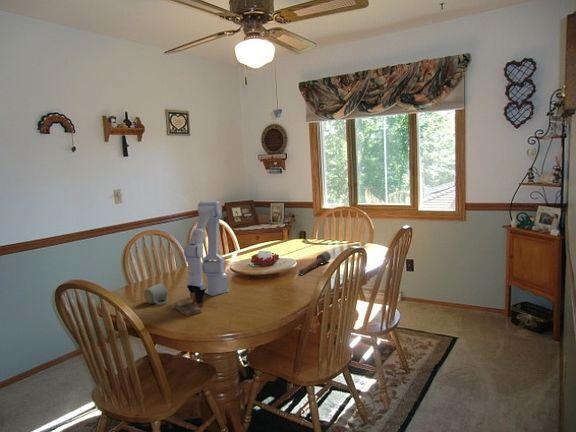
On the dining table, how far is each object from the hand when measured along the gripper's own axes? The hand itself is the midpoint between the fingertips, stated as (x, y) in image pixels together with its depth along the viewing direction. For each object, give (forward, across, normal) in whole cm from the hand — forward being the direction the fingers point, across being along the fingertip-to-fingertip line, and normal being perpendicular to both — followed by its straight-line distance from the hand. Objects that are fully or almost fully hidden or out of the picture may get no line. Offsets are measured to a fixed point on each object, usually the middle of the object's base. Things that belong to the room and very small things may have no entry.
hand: (197, 301), depth 190 cm
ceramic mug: (+2, -18, -11) cm, 21 cm away
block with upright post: (+2, 0, -3) cm, 4 cm away
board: (+2, +1, -6) cm, 6 cm away
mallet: (+2, -11, +76) cm, 77 cm away
